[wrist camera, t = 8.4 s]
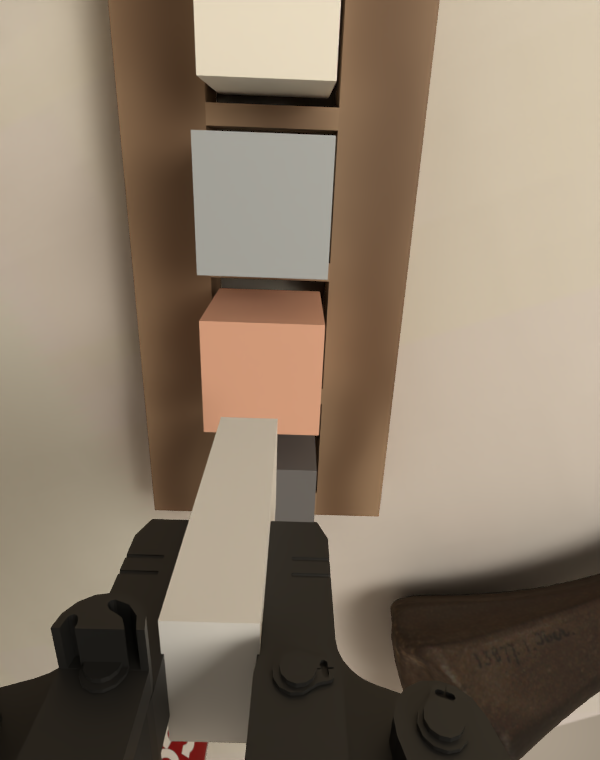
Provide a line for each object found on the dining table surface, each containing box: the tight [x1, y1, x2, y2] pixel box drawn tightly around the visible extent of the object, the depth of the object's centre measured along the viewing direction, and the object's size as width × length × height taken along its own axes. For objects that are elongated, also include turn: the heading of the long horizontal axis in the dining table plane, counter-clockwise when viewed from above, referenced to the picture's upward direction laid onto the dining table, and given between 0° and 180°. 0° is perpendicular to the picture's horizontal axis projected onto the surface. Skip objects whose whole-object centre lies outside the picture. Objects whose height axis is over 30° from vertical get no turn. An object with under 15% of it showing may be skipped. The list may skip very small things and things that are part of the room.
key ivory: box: [193, 0, 341, 98], centre depth 18 cm, size 4×4×5 cm
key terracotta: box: [199, 288, 325, 435], centre depth 21 cm, size 4×4×5 cm
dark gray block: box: [211, 434, 317, 522], centre depth 23 cm, size 4×4×5 cm
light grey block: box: [191, 130, 336, 280], centre depth 19 cm, size 4×4×5 cm
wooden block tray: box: [108, 0, 439, 516], centre depth 24 cm, size 12×26×3 cm, turn 178°
